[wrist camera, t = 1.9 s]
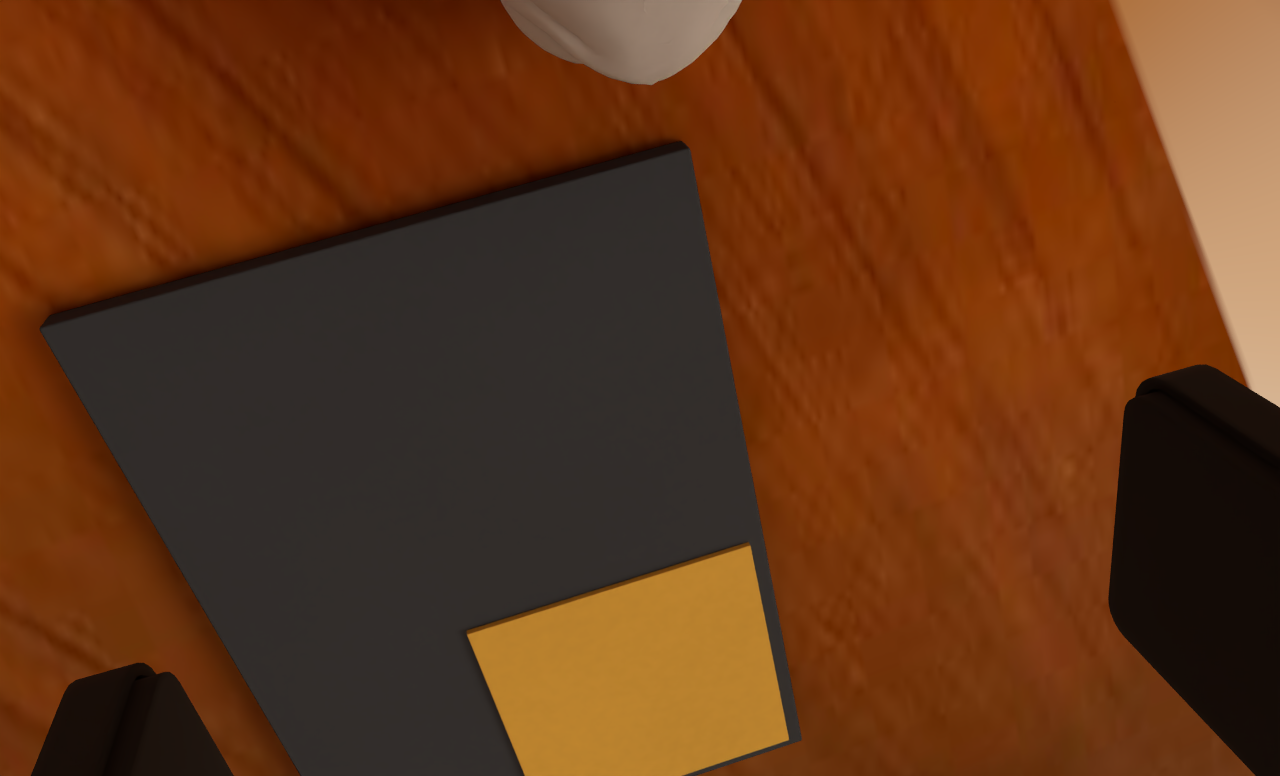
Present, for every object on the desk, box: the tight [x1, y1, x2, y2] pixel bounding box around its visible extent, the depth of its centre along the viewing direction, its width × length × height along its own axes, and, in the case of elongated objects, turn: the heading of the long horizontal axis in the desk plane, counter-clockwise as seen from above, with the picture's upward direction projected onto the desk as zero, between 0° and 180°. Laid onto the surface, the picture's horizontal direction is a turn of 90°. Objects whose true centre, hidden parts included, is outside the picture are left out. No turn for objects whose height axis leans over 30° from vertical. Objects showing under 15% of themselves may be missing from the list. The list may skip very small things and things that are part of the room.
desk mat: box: [40, 141, 802, 776], centre depth 29 cm, size 22×16×1 cm
